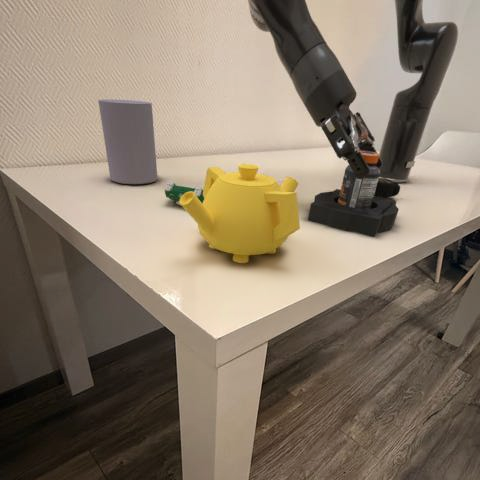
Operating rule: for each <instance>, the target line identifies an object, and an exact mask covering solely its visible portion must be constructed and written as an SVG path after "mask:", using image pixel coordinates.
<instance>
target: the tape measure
mask: <svg viewBox="0 0 480 480" xmlns="http://www.w3.org/2000/svg"><path fill="white" fill-rule="evenodd" d="M400 191H401V185H400V184H399V183H398V182H393V181H390V180H387V179H384V178H379V179H378V182H377V186H376V190H375V193H374V196H376V197H379V198H384V199H388V198H392V197H396V196H398V195H399V194H400Z"/></svg>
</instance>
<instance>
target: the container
mask: <svg viewBox="0 0 480 480" xmlns="http://www.w3.org/2000/svg"><path fill="white" fill-rule="evenodd" d="M97 101H98V108H99V114H100V121H101V127H102V134H103V139H104V140H103V141H104V146H105V147H104V148H105V153H106V158H107V159H106V160H107V164H108V172H109V178H110V180H111V181H112V182H115V183H117V184H120V185H128V186H142V185H143V186H144V185H150V184H153V183H155V182H156V181H157V180H158V168H157V154H156V142H155V141H156V140H155V129H154V118H153V117H154V115H153V103H152V102H150V101H142V100H129V99H110V98H109V99H98V100H97Z"/></svg>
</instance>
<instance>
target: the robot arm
mask: <svg viewBox="0 0 480 480" xmlns="http://www.w3.org/2000/svg"><path fill="white" fill-rule="evenodd" d="M247 2H248V10H249V14H250V17H251V20H252V22H253V24H254V25H255V27H256V28H257V29H258V30H260V31H262V32H263V33H264V32H265V33H269V34H270V35H271V37H272V41H273V44H274V49H275V52H276V55H277V57H278V59H279V61H280V63H281V65H282V66H283V68H284V70H285V71H286V73H287V75H288V76H289V78H290V80H291V82H292V84H293V86H294V89H295V92H296V93H297V95H298V97H299V98H300V100H301V102H302V104H303V105H304V107H305V108H306V110H307V112H308V114H309V115H310V118H311V119H312V121H313V122H314V124H315V126H316V127H318V128H321V130H322V132H323V133H324V135H325V137H326V139H327V140H328V142H329V144H330V146H331V147H332V149H333V151H334V153H335V154H336V157H337V158H338V159H342V160H344V161H345V162H347V164H348V165H350V167H351V169H352V170H353V172H354V174H355V175H356V177H357V179H361V178H363V177H364V176H366V175H367V174H369V173H370V168H369V166H368V164H367V163H366V161H365V159H364V157H363V156H362V154H361V152H360V151H370V152H375V153H378V154H379V158H378V162H377V163H376V167H378V168H379V170H380V175H379V178H384V179H387V180H390V181H393V182H395V183H400V184H401V183H407V182H408V181H409V176H410V173H411V170H412V168H414V166H415V163H416V161H415V159H416V156H417V153H418V149H419V147H420V144H421V140H422V138H423V136H424V132H425V130H426V127H427V123H428V119H429V116H430V114H431V111H432V108H433V105H434V102H435V100H436V98H437V97H438V95H439V92H440V90H441V88H442V84H443V82H444V79H445V76H446V74H447V71H448V70H449V66H450V64H451V61H452V59H453V56H454V53H455V51H456V50H455V49H456V47H457V44H458V38H459V28H458V25H457V24H456V23H455V22H454V21H439V22H436V21H435V22H426V21H425V20H424V15H423V12H424V11H423V4H424V3H423V2H424V0H394V7H395V16H396V31H397V32H396V33H397V50H398V51H397V52H398V53H397V54H398V61H399V65H400V69H402V71H403V72H405V73H407V74H408V73H409V74H420V77H419V79H418V80H417V81H416V82H415V83H414V84H413V85H411V86H410V87H407V88H405V89H401V90H399V91H398V92H397V93H396V94H395V96H394V99H393V102H392V106H391V110H390V113H389V118H388V120H387V124H386V128H385V132H384V135H383V139H382V142H381V145H380V149H379V152H378V151H377V150H376V148H375V146H374V145H375V143H374V142H375V141H376V139H375V137H374V136H373V134H372V132H371V131H370V129H369V127H368V126H367V124H366V122H365V121H364V119H363V117H362V115H361V113H360V112H359V111H357V112H356V113H353V112H352V110H351V109H350V106H351V104H352V103H354V102H355V100H356V98H357V91H356V89H355V87H354V85H353V84H352V82H351V80H350V79H349V77H348V74H347V73H346V71H345V69H344V68H343V66H342V64H341V62H340V61H339V58H338V57H337V56H336V54H335V52H334V51H333V50H332V49H331V47H330V46H329V45H328V43H327V41H326V40H325V38H324V36H323V35H322V33H321V30H320V29H319V27H318V25H317V24H316V22H315V21H314V19H313V17H312V15H311V12H310V10H309V8H308V4H307V2H306V0H247ZM358 151H359V152H358ZM357 152H358V153H357Z"/></svg>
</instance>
